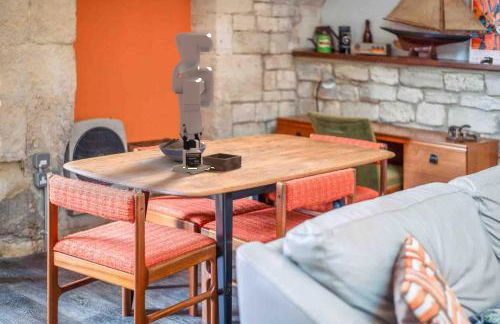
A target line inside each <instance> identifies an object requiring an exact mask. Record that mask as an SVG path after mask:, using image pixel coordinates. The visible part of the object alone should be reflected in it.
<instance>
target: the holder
mask: <svg viewBox="0 0 500 324" xmlns="http://www.w3.org/2000/svg"><path fill="white" fill-rule="evenodd" d="M242 158H243V157H242V155H238V154H231V153H225V152H218V153H217V152H216V153H211V154H208V155H203V156H202V155H201V161H202V164H203V165H209V166H211V167H214V168H215V169H214V170H216V171H223V172H225V171H226V172H227V171H229V170H234V169H237V168H241V167H242Z"/></svg>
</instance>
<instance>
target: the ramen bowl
mask: <svg viewBox="0 0 500 324" xmlns="http://www.w3.org/2000/svg"><path fill="white" fill-rule="evenodd" d="M207 146H208V145H207V143H204V142H200V148H199V149H198V150H200V151H201V155H202V154H203V153H204V152H205V150H206V149H207ZM158 148H159V149H160V151H161V153H162V154H163V155H164V156H165V157H167V158H168V159H170V160H173V161H175V162H178V161H183V150H184V149H183V141H180V138H177V139H176V138H173V139H172V140H170V141H167V142H166V141H165V142H162V143H159V144H158Z"/></svg>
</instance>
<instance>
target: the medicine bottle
mask: <svg viewBox="0 0 500 324" xmlns="http://www.w3.org/2000/svg"><path fill="white" fill-rule="evenodd" d="M189 141H190V150H183V162H182V164H183V166H184V167H185V168H201V167H202V154H201V151H200V150H198V149H199V141H198V140H195V139H189Z"/></svg>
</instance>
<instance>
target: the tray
mask: <svg viewBox="0 0 500 324" xmlns="http://www.w3.org/2000/svg"><path fill="white" fill-rule="evenodd" d="M183 167H184V166H183V163H182V164H177V165H173V166H172V168H171V169H172V171H174V172H179V171H180V172H179V173H185V172H190V173H191V174H192V175H195V174H199V173H203V172H202V171H203V170H205V169H208V168H211V166H209V165H203V164H202V167H201V168H197V169H188V168H183ZM190 173H189V174H190ZM191 174H190V175H191Z"/></svg>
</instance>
